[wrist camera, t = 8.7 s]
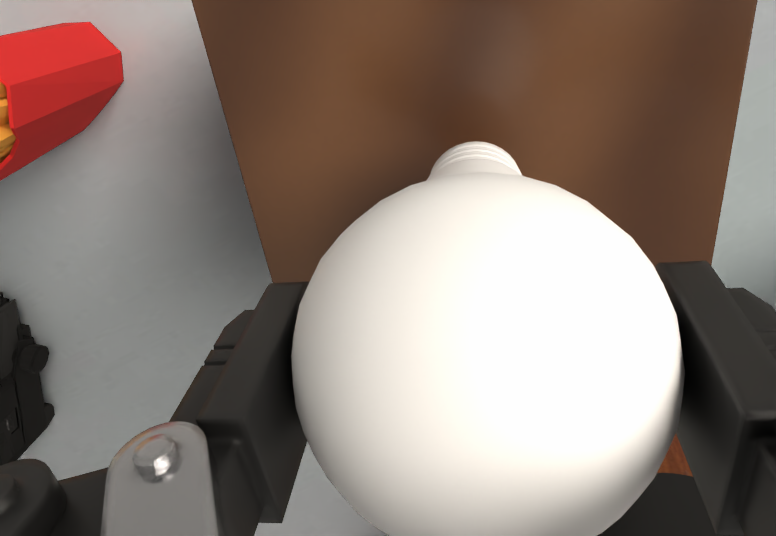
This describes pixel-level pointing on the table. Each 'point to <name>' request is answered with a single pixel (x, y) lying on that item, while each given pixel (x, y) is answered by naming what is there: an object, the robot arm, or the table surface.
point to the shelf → (479, 107)
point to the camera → (20, 385)
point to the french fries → (52, 88)
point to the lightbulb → (487, 358)
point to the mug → (667, 504)
